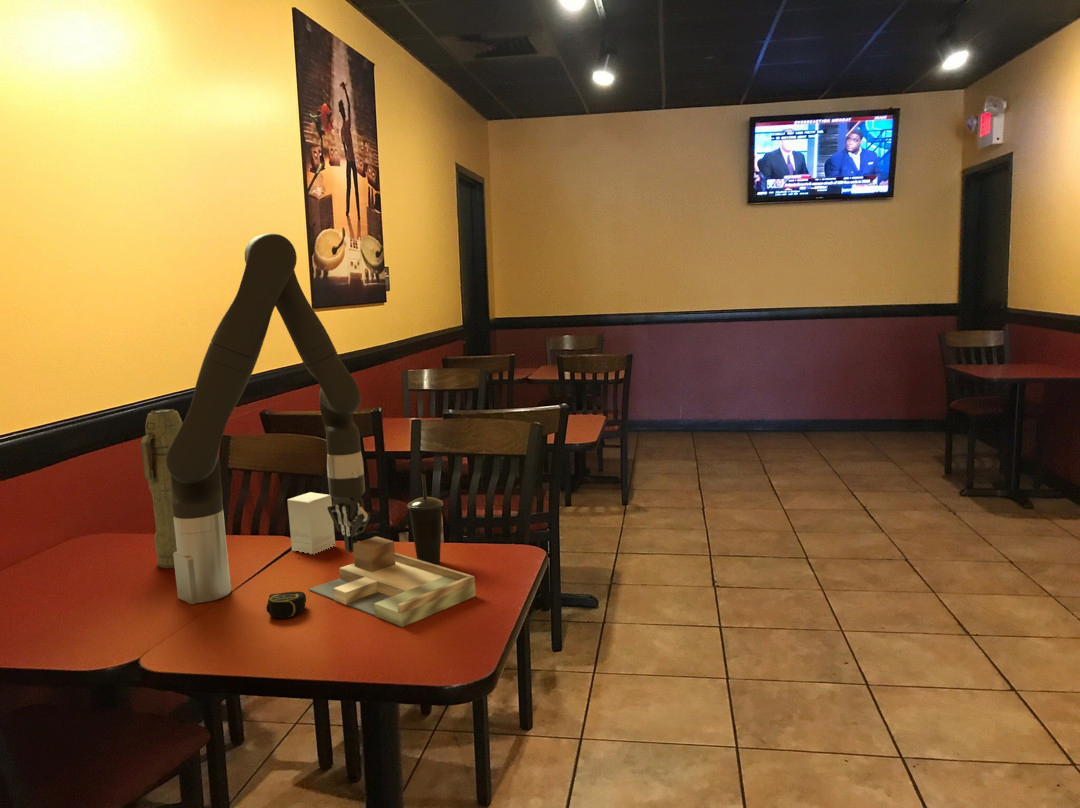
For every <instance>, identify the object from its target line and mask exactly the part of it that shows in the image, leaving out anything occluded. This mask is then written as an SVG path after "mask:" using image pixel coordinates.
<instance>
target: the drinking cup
mask: <svg viewBox="0 0 1080 808" xmlns="http://www.w3.org/2000/svg"><path fill="white" fill-rule="evenodd" d="M421 479H422V480H421V481H422V496H423V497H418V498H415V499H414V500H412V501H409V502H408V503H407V505H406V506H407V508H408V509H409V517H410V524H411V529H412V535H413V541H414V542H413V543H414V549H415V554H416V559H418V560H421V561H425V562H428V563H431V564H435V565H438V566H440V563H441V548H442V547H441V544H442V540H441V539H442V519H443V518H442V512H443V505H444V502H443V500H441V499H438V498H436V497H432V496H427V482H426V474H423V473H422V474H421Z"/></svg>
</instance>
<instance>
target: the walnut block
mask: <svg viewBox="0 0 1080 808" xmlns="http://www.w3.org/2000/svg"><path fill="white" fill-rule="evenodd" d="M353 549H354V552H353V559H354V562H353V563H355V567H357V568H360V569H363V570H366V571H369V572H375V571H378V570H381V569H383V568H386V567H389V566H392V565H395V553H396V551H395V541H394V540H390V539H387V538H384V537H380V536H372V537H371V538H370V537H369V538H367V539H363V540H361V541H358V542H357V543H353Z"/></svg>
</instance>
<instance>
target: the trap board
mask: <svg viewBox="0 0 1080 808" xmlns="http://www.w3.org/2000/svg"><path fill="white" fill-rule="evenodd" d="M338 568H339V571H338V572H339V578H336V579H334V580H333V579H332V580H330V581H328V582H324V583H322V584H319V585H316V586H313V587H310V588H308V591H309V592H312V593H315V594H318V595H320V596H322V597H325V598H328V599H330V600H333V601H335V602H338V603H340V604H342V605H345V606H348V607H349V608H353V609H355V610H358V611H361V612H363V613H366V614H368V615H370V616H373V617H375V618H379V619H381V620H383V621H386V622H389V623H390V624H394V625H396V626H399V627H402V628H404V627H406V626H408V625H410V624H413V623H416V622H418V621H421V620H422V619H425V618H427V617H430V616H432V615H434V614H437V613H439V612H441V611H443V610H446V609H448V608H451V607H453V606H455V605H458V604H460V603H462V602H465V601H468V600H469V599H472V598H475V597H476V582H475V581H476V580H475V579H476V577H475V575H471V574H468V573H464V572H463V571H462V572H461V571H458V570H454V569H451V568H448V567H445V566H441V565H435V564H431V563H428V562H425V561H421V560H418V559H417V558H414V557H410V556H408V555H404V554H401V553H397V552H395V565H392V566H389V567H386V568H383V569H381V570H378V571H375V572H369V571H366V570H363V569H360V568H357V567H355V563H354V562H353V563H350V564H348V565H344V566H341V567H338Z"/></svg>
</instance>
